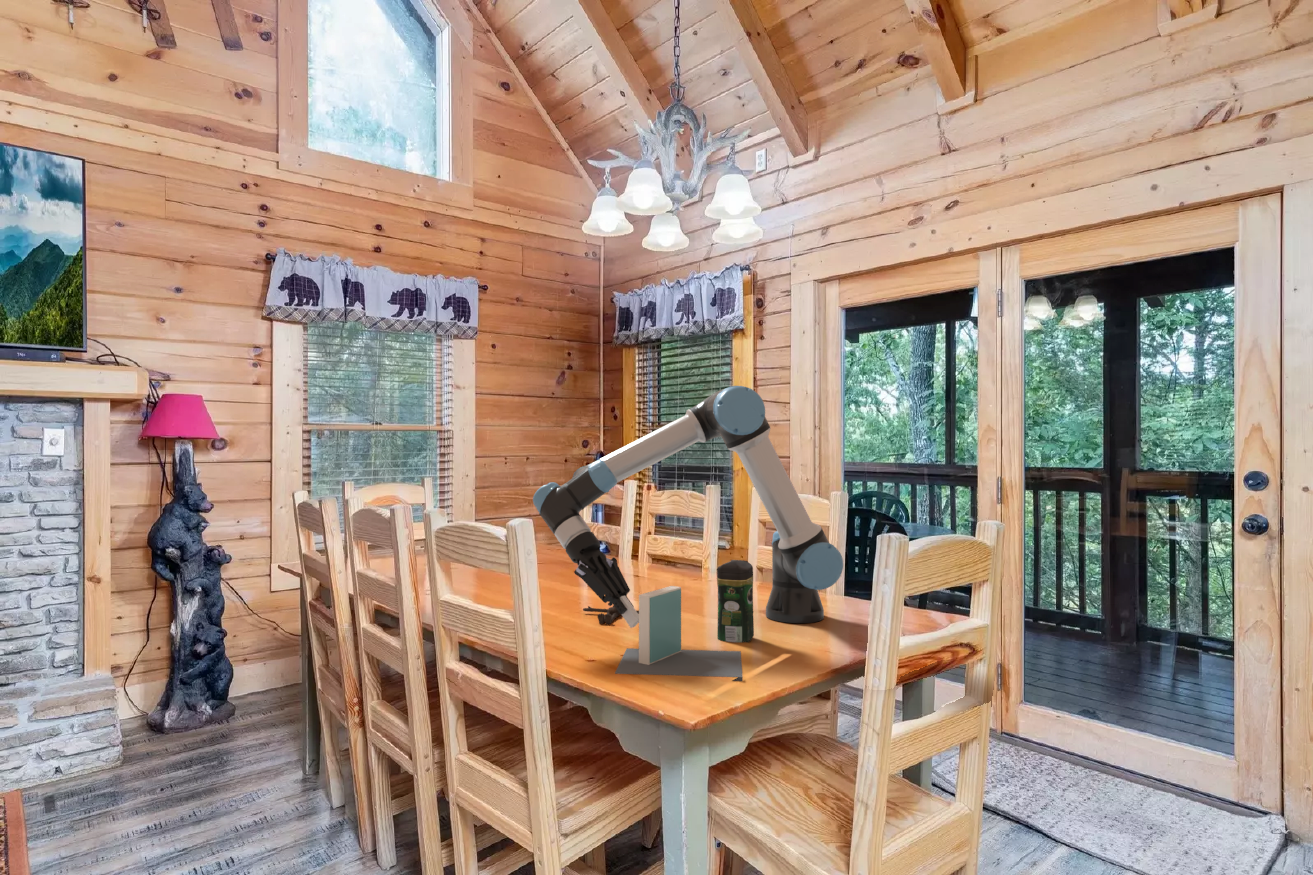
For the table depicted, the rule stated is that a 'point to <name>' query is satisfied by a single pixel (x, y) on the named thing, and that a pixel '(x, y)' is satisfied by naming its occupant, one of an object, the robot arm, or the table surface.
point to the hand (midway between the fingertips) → (636, 623)
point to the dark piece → (608, 617)
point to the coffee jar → (735, 601)
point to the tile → (659, 624)
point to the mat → (686, 664)
